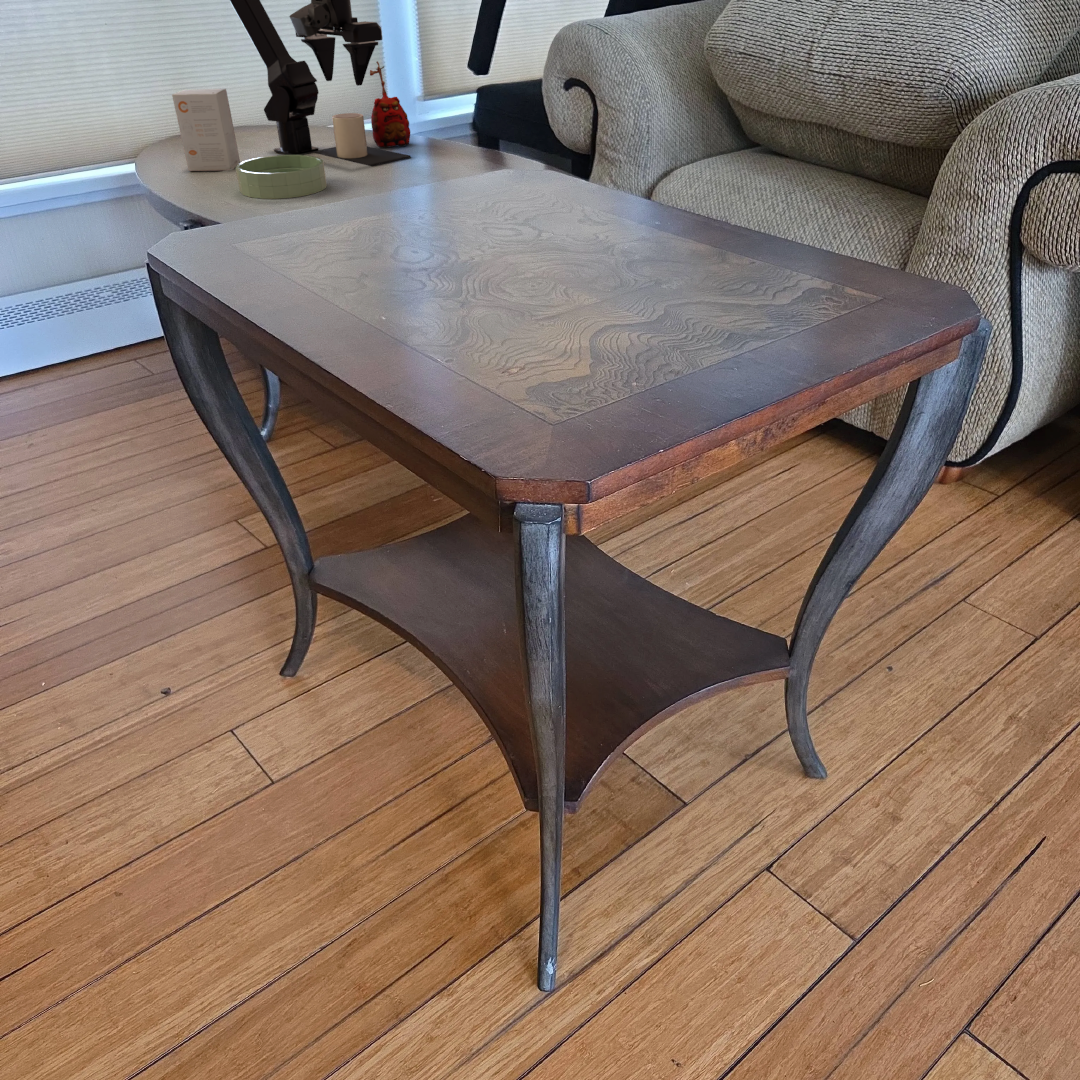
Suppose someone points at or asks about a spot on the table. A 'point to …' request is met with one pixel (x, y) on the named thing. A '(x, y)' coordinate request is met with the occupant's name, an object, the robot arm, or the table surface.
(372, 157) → the mat
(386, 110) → the red clay folk toy
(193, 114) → the small box
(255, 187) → the bowl
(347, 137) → the cup
